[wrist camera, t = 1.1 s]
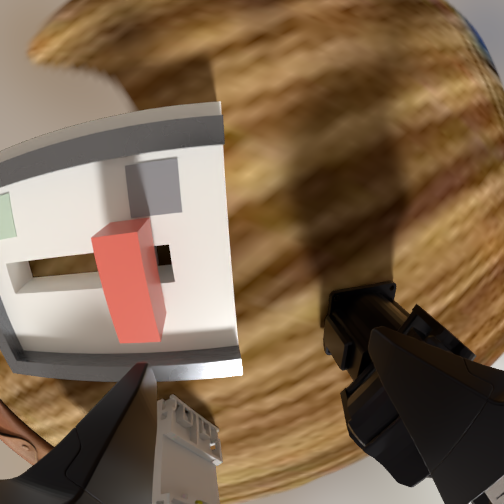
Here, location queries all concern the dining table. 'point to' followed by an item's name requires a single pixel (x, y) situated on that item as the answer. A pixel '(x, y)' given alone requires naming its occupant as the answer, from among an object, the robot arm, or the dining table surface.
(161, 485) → the circuit breaker
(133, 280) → the lever
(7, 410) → the sunglasses case
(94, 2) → the dining table surface
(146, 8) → the dining table surface
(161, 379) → the grey frame
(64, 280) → the switch panel
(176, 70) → the dining table surface
